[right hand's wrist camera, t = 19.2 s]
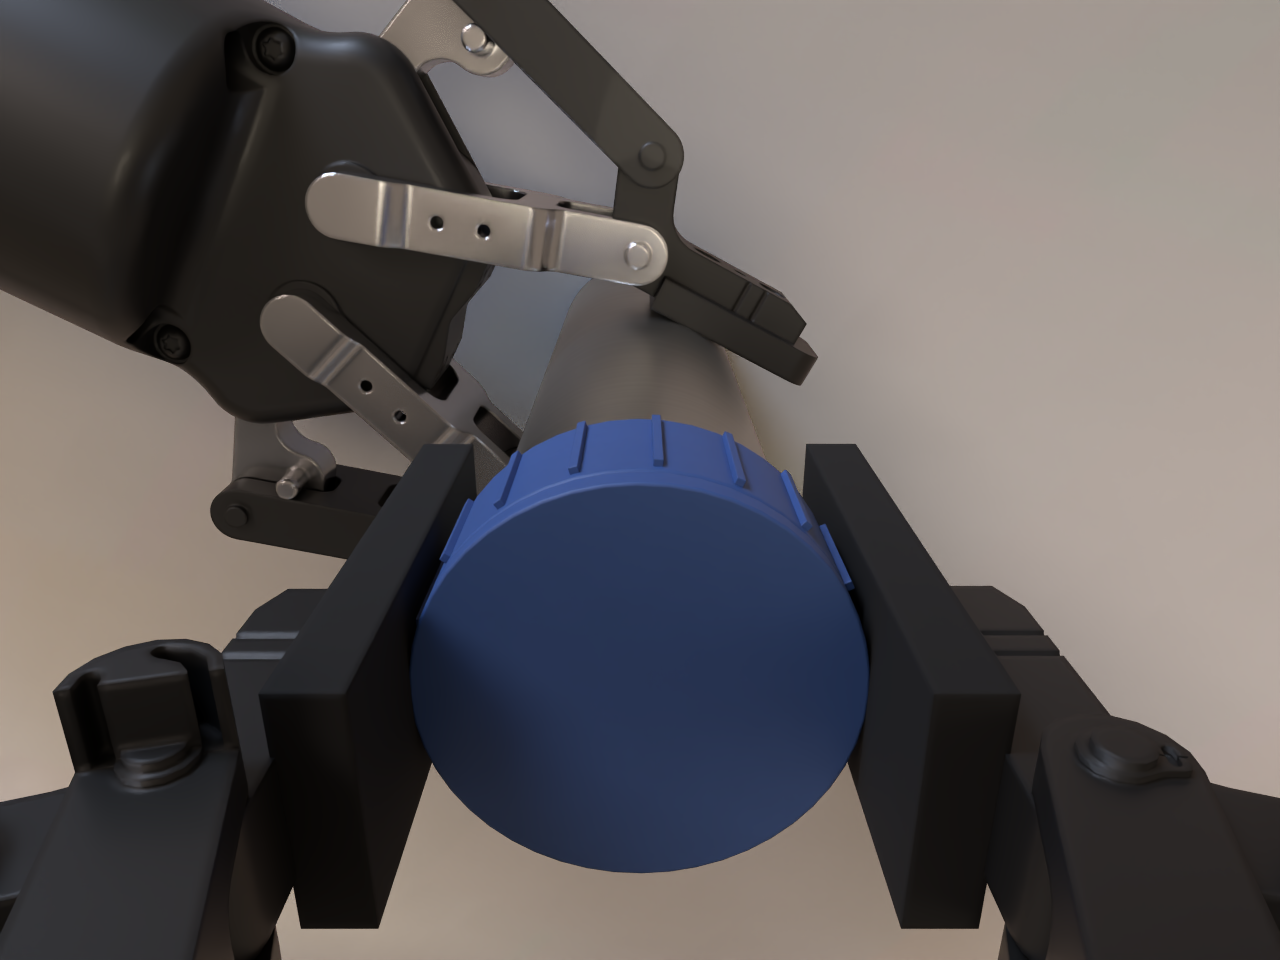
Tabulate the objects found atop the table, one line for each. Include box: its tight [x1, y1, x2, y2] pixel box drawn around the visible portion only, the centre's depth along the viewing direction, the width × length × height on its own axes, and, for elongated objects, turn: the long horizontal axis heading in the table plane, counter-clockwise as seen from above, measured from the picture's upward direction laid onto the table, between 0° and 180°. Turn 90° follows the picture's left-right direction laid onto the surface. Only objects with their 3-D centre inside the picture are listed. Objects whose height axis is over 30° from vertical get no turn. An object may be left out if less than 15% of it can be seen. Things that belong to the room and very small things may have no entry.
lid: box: [409, 415, 870, 873], centre depth 11 cm, size 5×5×2 cm
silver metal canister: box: [517, 278, 767, 461], centre depth 19 cm, size 4×4×17 cm
